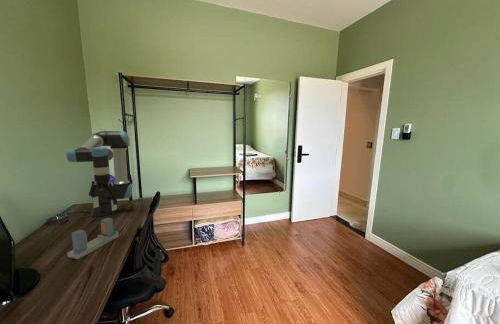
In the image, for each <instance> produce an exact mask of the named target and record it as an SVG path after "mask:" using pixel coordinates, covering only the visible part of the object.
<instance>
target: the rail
mask: <svg viewBox="0 0 500 324" xmlns="http://www.w3.org/2000/svg"><path fill="white" fill-rule="evenodd" d="M113 232H114V234H113V235H111V236H109V237H108V236H104V235H102V234H98V235H97V237H95V238H93V239H91V240H90V241H88V237H87V232H86V230H83V229H78V230H75V231H74V232H73V231H72V232H71V240H72V248H73V249H72V250H70V251H68V252H66V253H67V254H66V255H67V258H70V259H75V260H80V259H82V258H83V257H85V256H87V255H88V254H90V253H92V252H94V251H96V250H97V249H99V248H101V247H103V246H104V245H106V244H108V243H110V242H112V241H114V240H115V239H117V238H119V232H118V231H117V230H113Z"/></svg>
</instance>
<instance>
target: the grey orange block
mask: <svg viewBox="0 0 500 324" xmlns="http://www.w3.org/2000/svg"><path fill="white" fill-rule="evenodd" d="M113 222H114V221H113V218H111V217H105V218H103V219H101V220H100V230H101V235H104V236H108V237H109V236H111V235H113V234H114V232H113V231H114V223H113Z"/></svg>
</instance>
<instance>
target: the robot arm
mask: <svg viewBox="0 0 500 324" xmlns="http://www.w3.org/2000/svg"><path fill="white" fill-rule="evenodd" d="M130 145H131V141H130V138H129V134H128V133H127V132H126V131H122V130H118V131H117V130H107V131H106V130H102V131H101V130H100V131H98V132H95V133H93V134H91V135H90V136H88V137H87V140H86V141H85V142H84V143H82V144H81V145H80V146H78V148H76V149H68V150H67V151H66V152H65V153H66V160H67V161H68V162H69V163H87V162H91V163H92V165H93V166H92V167H93V168H92V169H93V174H94V175H93V177H94V180H93V181H91V186H90V190H89V193H88V196H89V197H91V199H92V204H93V205H92V210H91V216H92V217H94V218H100V217H101V216H102V217H107V216H110V215H113V214H114V213H115V212H116V210H118V200H125V199H130V198H131V197H132V193H133V184H132V183H130V180H129V179H128V166H127V153H126V152H127V150H128V148H129V146H130ZM107 147H110V148H107ZM111 160H113V169H114V170H113V172H114V181H113V182H110V180H111V173H110V161H111Z"/></svg>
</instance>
